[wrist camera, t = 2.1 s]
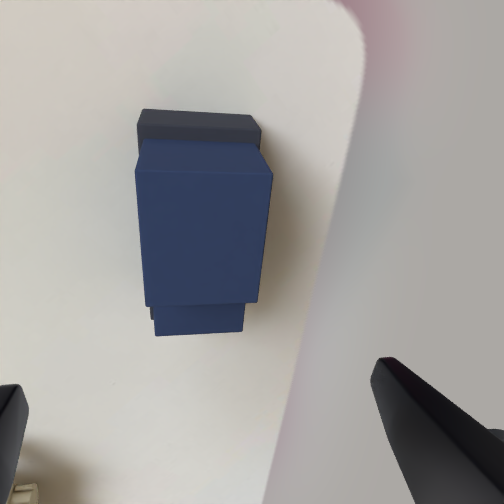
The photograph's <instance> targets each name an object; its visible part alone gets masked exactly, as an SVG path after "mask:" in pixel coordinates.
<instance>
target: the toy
mask: <svg viewBox="0 0 504 504" xmlns="http://www.w3.org/2000/svg"><path fill="white" fill-rule="evenodd" d="M6 504H38V487H37V484H36V483H34V484H26V485H17V484H12V487H11V490H10V493H9V497H8V499H7V502H6Z"/></svg>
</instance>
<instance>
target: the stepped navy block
mask: <svg viewBox="0 0 504 504" xmlns="http://www.w3.org/2000/svg"><path fill="white" fill-rule="evenodd" d="M137 135H138V149H139V158H138V161H137V165H136V168H135V181H136V193H137V206H138V218H139V231H140V243H141V256H142V268H143V281H144V293H145V305H146V307H150V315H151V319H152V320H154V328H155V336H172V335H191V334H210V333H228V332H242V331H243V321H244V311H245V303H257V301H258V293H259V285H260V277H261V269H262V261H263V253H264V245H265V237H266V229H267V221H268V213H269V205H270V196H271V188H272V180H273V173H272V171H271V170H270V168H269V166H268V165H267V163H266V161H265V160H264V158H263V156H262V154H261V153H260V151H259V150H260V140H261V129H260V127H259V126H258V125H257V123H256V122H255V120H254V119H253V118H252V116H251V115H242V114H224V113H207V112H189V111H172V110H154V109H143V110H142V112H141V115H140V118H139V120H138V123H137Z"/></svg>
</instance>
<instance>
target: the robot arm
mask: <svg viewBox="0 0 504 504" xmlns="http://www.w3.org/2000/svg"><path fill="white" fill-rule="evenodd" d="M370 382H371V387H372V391H373V394H374V397H375V400H376V403H377V406H378V410H379V413H380V416H381V419H382V422H383V425H384V429H385V432H386V435H387V437H388V440H389V443H390V445H391V447H392V450H393V452H394V455H395V457H396V459H397V462H398V464H399V467H400V469H401V471H402V473H403V476H404V478H405V480H406V483H407V485H408V488H409V490H410V492H411V495H412V497H413V499H414V502H415V504H504V442H503V441H502V440H501V439H500V438H498V437H497V436H496V435H494V434H493V433H492V432H490V431H489V430H488V429H486V428H485V427H484V426H482V425H481V424H480V423H479V422H477V421H476V420H475V419H473V418H472V417H471V416H470V415H468V414H467V413H466V412H464V411H463V410H461V408H459V407H458V406H457V405H455V404H454V403H453V402H451V401H450V400H449V399H447V398H446V397H445V396H444V395H442V394H441V393H440V392H438V391H437V390H436V389H434V388H433V387H432V386H431V385H429V384H428V383H427V382H425V381H424V380H423V379H421V378H420V377H419V376H418V375H416V374H415V373H414V372H412V371H411V370H410V369H408V368H407V367H406V366H405V365H403V364H402V363H401V362H399V361H398V360H397V359H395V358H393V357H385V358H379V359H378V360H377V362H376V365H375V367H374V370H373V373H372V375H371V380H370ZM28 414H29V407H28V403H27V400H26V398H25V395H24V392H23V389H22V387H21V386H20V385H19V384H9V385H1V386H0V504H6V502H7V499H8V497H9V493H10V490H11V487H12V484H13V480H14V476H15V472H16V468H17V463H18V459H19V454H20V450H21V446H22V441H23V437H24V432H25V428H26V424H27V419H28Z"/></svg>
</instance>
